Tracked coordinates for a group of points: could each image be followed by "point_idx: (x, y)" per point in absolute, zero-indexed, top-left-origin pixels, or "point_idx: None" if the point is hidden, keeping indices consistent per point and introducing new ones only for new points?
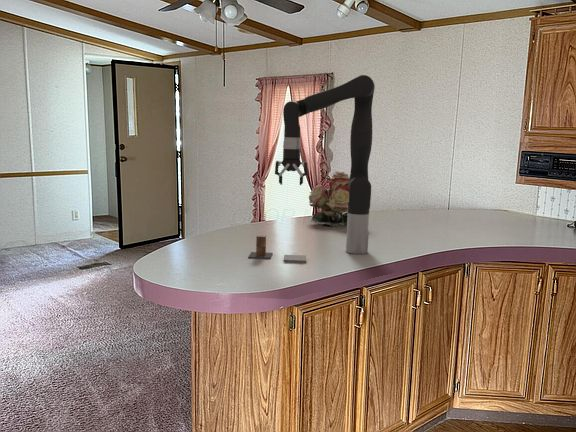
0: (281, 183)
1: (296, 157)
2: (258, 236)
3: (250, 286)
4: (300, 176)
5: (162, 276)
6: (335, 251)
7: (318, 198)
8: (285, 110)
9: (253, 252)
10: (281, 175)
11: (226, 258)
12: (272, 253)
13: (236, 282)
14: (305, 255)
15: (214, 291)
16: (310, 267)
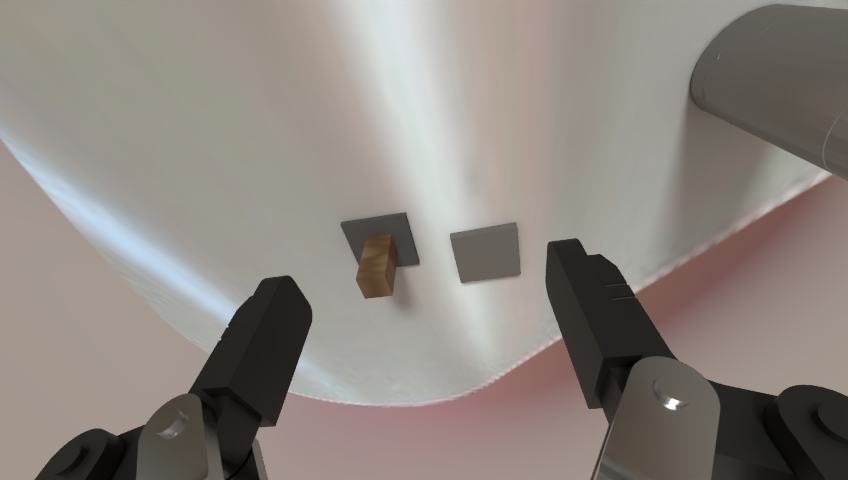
0: (306, 327)
1: None
2: (370, 297)
3: (441, 386)
4: (606, 409)
5: (298, 381)
6: (639, 89)
7: None
8: None
9: (349, 228)
10: (250, 436)
11: (314, 283)
12: (405, 215)
13: (415, 379)
14: (515, 228)
15: (403, 403)
16: (530, 294)
